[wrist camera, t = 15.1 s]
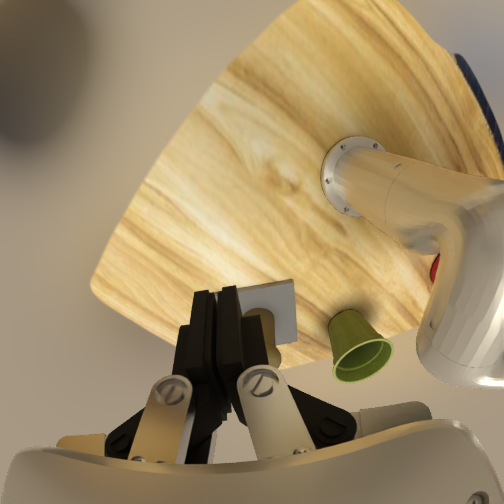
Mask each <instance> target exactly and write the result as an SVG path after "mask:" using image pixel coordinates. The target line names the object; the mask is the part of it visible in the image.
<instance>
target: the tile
mask: <svg viewBox="0 0 504 504" xmlns="http://www.w3.org/2000/svg"><path fill="white" fill-rule="evenodd" d="M237 292H238V297H239V301H240V306H241V311H242V315H244V314H245V313H246V312H247V311H249V310H251V309H254V308H265V309H268V310H269V311H271V312H272V313H273V315H274V319H275V340H276V345H281V344H286V343H291V342H296V341H297V325H296V309H295V295H294V282H293V280H292V279H291V280H286V281H280V282H274V283H269V284H263V285H257V286H252V287H246V288H240V289H237ZM217 293H218V292H215V293H214V294H215V297H216V301H217Z"/></svg>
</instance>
